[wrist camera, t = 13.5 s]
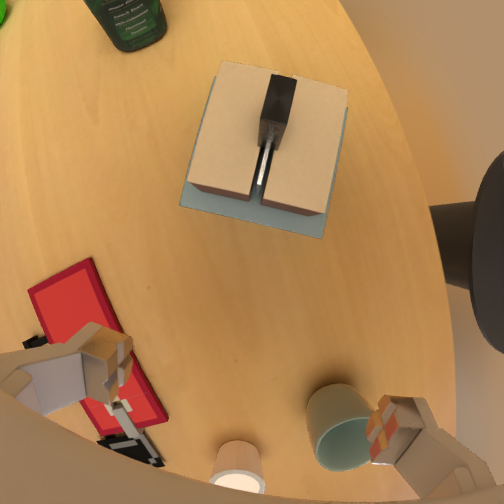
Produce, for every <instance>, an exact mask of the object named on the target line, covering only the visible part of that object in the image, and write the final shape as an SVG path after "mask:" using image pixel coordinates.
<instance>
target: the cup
mask: <svg viewBox="0 0 504 504" xmlns="http://www.w3.org/2000/svg"><path fill="white" fill-rule="evenodd" d="M373 412H375V411H374V409H373V408H372V406H371V405H370V404H369V402H368V401H367V400H366V398H365V397H364V396H363V395H362V394H361V393H360V392H359V391H358V390H357V389H355V388H353V387H352V386H350V385H347V384H341V383H338V384H331V385H327V386H325V387H322V388H321V389H319V390H318V391H316V392H315V393H314V394H313V395H312V396H311V398H310V399H309V401H308V404H307V408H306V423H307V430H308V434H309V438H310V442H311V446H312V449H313V452H314V455H315V457H316V460H317V461H318V463H319V464H320V465H321V466H322V467H324V468H325V469H328V470H330V471H347V470H351V469H355V468H358V467H360V466H362V465H364V464H366V463H368V462H369V461H371V457H370V452H369V448H370V447H371V445H372V444H371V443H370V442H369V441H368V440H367V437H366V426H367V422H368V420H369V418H370V416H371V414H372V413H373Z"/></svg>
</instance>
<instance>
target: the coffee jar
mask: <svg viewBox="0 0 504 504" xmlns="http://www.w3.org/2000/svg"><path fill="white" fill-rule="evenodd" d="M83 1H84V2H85V3H86V5H87V6H88V8H89V9H90V10H91V12H92V13H93V15H94V16H95V17H96V19H97V20H98V22H99V23H100V25H101V26H102V28H103V29H104V30H105V32H106V33H107V35H108V36H109V38H110V39H111V41H112V42H113V44H114V45H115V47H116V48H117V49H119V50H121V51H127V52H128V51H133V50H137V49H140V48H142V47H145V46H147V45H149V44H151V43H153V42H154V41H156V40H157V39H159V38H160V37H161V36H162V35H163V34H164V32H165V31H166V27H167V23H166V18H165V14H164V11H163V8H162V6H161V3H160V0H83Z"/></svg>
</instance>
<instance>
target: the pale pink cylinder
mask: <svg viewBox="0 0 504 504" xmlns="http://www.w3.org/2000/svg"><path fill="white" fill-rule="evenodd" d="M209 483H211V484H215V485H219V486H223V487H228V488H233V489H237V490H242V491H248V492H253V493H259V494H264V491H265V488H266V486H265V482H264V477H263V472H262V467H261V462H260V457H259V453H258V450H257V448H256V447H255V446H254V445H253V444H250V443H248V442H246V441H239V440H236V441H229V442H227V443H225V444H223V445H222V446H221V447H220V449H219V451H218V454H217V458H216V461H215V464H214V468H213V471H212V474H211V478H210V481H209Z"/></svg>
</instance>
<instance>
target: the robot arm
mask: <svg viewBox="0 0 504 504" xmlns="http://www.w3.org/2000/svg"><path fill="white" fill-rule="evenodd" d="M132 349H133V339H132V337H131V336H128V335H125V334H123V333H120V332H118V331H115V330H112V329H110V328H107V327H104V326H102V325H99V324H97V323H94V322H89V323H87V324H86V325H85V326H84V327H83V328H82V329H80V330H79V331H78V332H77V333H76V334H75V335H74V336H72V337H71V338H70V339H69V340H68V341H67V342H66V343H64V344H62V343H55V344H50V345H45V346H40V347H35V348H30V349H25V350H20V351H14V352H9V353H3V354H0V504H504V484H502V485H498V486H497V485H496V483H495V481H494V479H493V476H492V474H491V472H490V470H489V467H488V466H487V463H486V462H485V461H483V460H482V459H481V458H479V457H478V456H477V455H476V454H474V453H472V452H471V451H470V450H469V449H468V448H466V447H465V446H464V445H462V444H461V443H460V442H459V441H457V440H456V439H455V438H454V437H452V436H451V435H450V434H448V433H447V432H446V431H445V430H443V429H439V428H438V426H437V423H436V421H435V419H434V417H433V415H432V412H431V410H430V408H429V406H428V404H427V402H426V400H425V399H424V398H423V397H401V396H391V395H384V396H383V397H382V398H381V399H380V400H379V402H378V407H379V409H378V410H376V411H375V412H373V413H372V414H371V416H370V418H369V420H368V422H367V426H366V437H367V440H368V441H369V442H370V443H371V444H372V445H371V447H370V448H369V452H370V457H371V462H372V464H384V465H394V467H395V468H396V469H397V470H398V472H399V473H400V474H401V475H402V476H403V478H404V479H405V480H406V481H407V483H408V484H409V485H410V486H411V487H412V489H413V490H414V491H415V492H416V493H417V495H418V496H419V497H420V498H421V499H417V500H406V501H390V502H333V501H317V500H305V499H295V498H286V497H279V496H272V495H265V494H259V493H253V492H248V491H242V490H237V489H233V488H228V487H223V486H219V485H215V484H211V483H207V482H203V481H199V480H196V479H192V478H188V477H185V476H182V475H178V474H175V473H172V472H169V471H166V470H162V469H159V468H157V467H154V466H151V465H148V464H145V463H142V462H140V461H137V460H134V459H132V458H129V457H127V456H124V455H122V454H119V453H117V452H115V451H112V450H110V449H108V448H105V447H103V446H101V445H99V444H96V443H94V442H92V441H90V440H88V439H86V438H84V437H82V436H80V435H78V434H76V433H74V432H72V431H70V430H68V429H66V428H64V427H62V426H60V425H59V424H57V423H55V422H53V421H51V420H50V419H48V418H46V417H44V416H45V415H48V414H50V413H52V412H55V411H57V410H59V409H62V408H64V407H66V406H69V405H71V404H73V403H76V402H78V401H80V400H82V399H85V398H86V396H87V397H89V398H92V399H94V400H96V401H99V402H101V403H104V404H106V405H109V406H110V405H111V404H112V402H113V401H114V399H115V398H116V397H117V395H118V394H119V387H120V386H123V385H125V384H126V382H127V381H128V379H129V377H130V374H131V371H132V366H133V358H132V357H131V355H130V353H129V352H130V351H131V350H132Z"/></svg>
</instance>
